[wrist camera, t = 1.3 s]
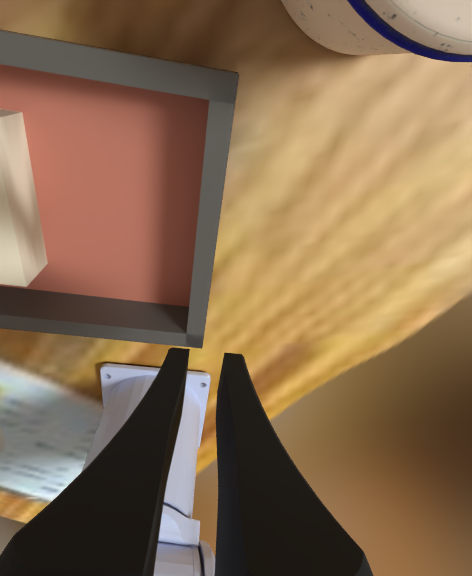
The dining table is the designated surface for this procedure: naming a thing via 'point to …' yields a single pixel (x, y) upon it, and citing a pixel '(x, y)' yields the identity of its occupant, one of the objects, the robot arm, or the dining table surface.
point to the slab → (18, 206)
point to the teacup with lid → (388, 26)
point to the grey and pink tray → (119, 188)
